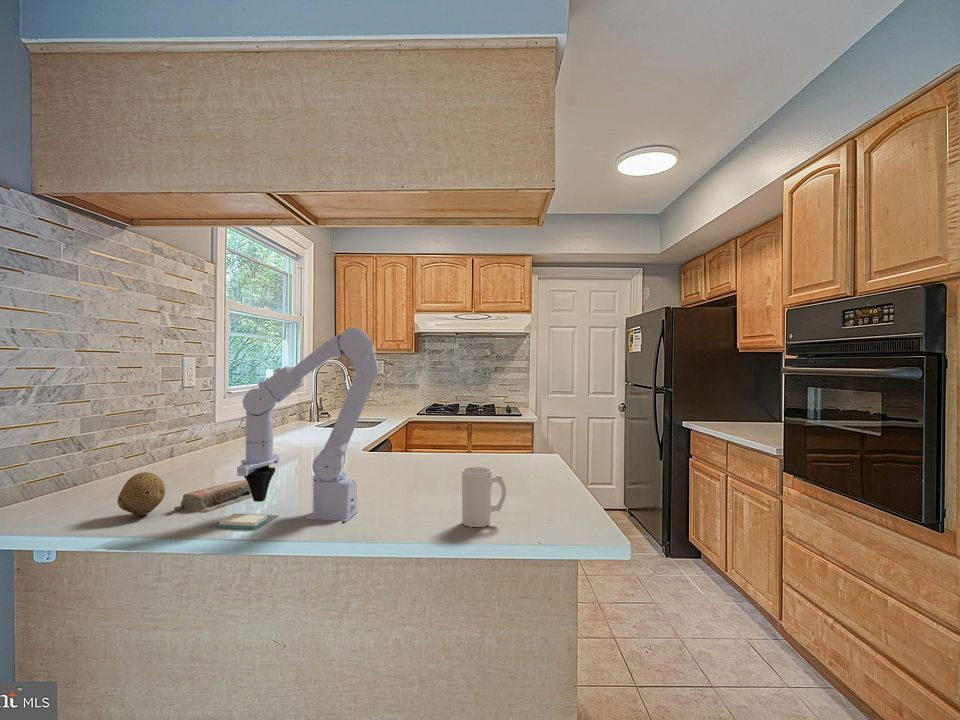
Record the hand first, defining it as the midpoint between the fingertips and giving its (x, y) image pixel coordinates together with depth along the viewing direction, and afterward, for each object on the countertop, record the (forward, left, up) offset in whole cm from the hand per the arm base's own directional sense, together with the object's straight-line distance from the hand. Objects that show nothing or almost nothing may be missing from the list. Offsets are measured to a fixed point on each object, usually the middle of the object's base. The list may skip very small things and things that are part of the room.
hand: (259, 500), depth 120 cm
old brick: (+16, -10, -5) cm, 20 cm away
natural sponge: (+27, +2, -4) cm, 27 cm away
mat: (+1, +4, -4) cm, 6 cm away
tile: (0, +4, -3) cm, 5 cm away
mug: (-51, -4, -4) cm, 51 cm away
